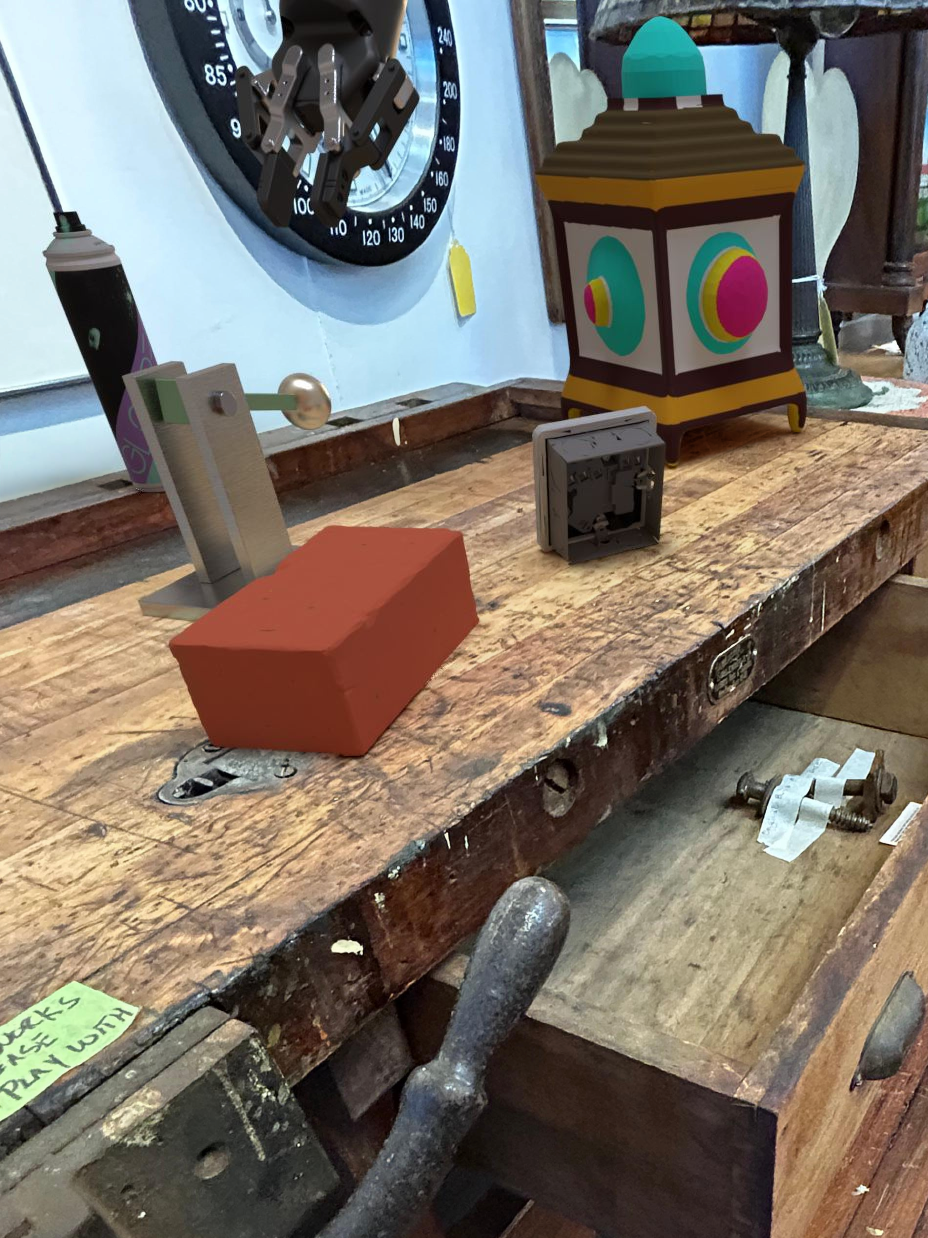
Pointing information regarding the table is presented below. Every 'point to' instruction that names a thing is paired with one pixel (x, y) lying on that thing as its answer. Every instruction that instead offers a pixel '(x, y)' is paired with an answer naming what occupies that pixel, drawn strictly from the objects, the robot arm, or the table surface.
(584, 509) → the electrical switch
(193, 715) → the table surface
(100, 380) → the spray can
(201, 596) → the switch bracket
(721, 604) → the table surface
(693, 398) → the decorative lantern
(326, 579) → the brick
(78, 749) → the table surface
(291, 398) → the switch lever
